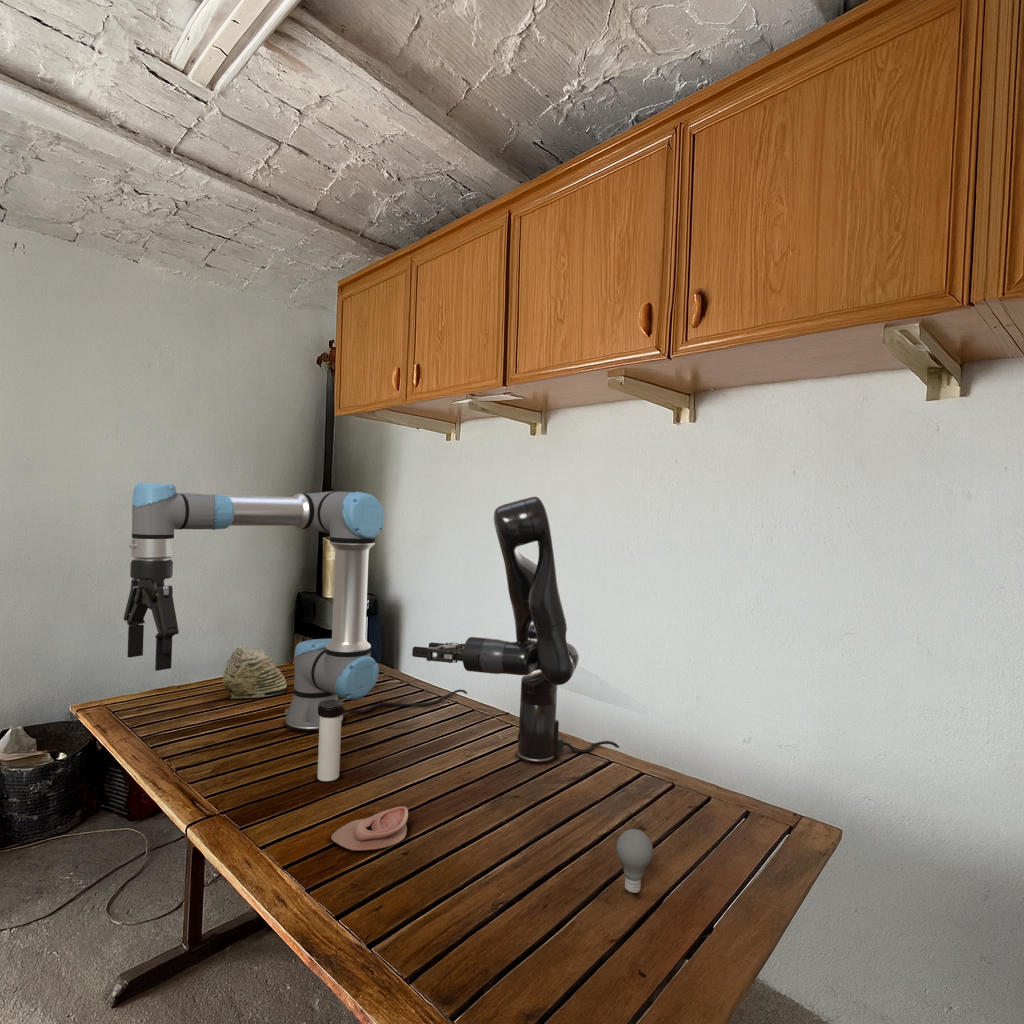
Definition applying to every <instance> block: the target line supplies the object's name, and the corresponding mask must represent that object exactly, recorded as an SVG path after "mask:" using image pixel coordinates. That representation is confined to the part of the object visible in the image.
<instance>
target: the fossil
mask: <svg viewBox="0 0 1024 1024" xmlns="http://www.w3.org/2000/svg"><path fill="white" fill-rule="evenodd" d="M222 676H223V677H222V685H223V687H224V688H225V690H226V691H228V693H229V698H230V699H250V698H264V697H271V696H275V695H281V694H284V693H285V691H286V689H287V687H288V686H287V680H286V678H285V676H284V674H283V673H282V672H281V669H279V668H278V667H277V665H276V663H275V662H274V660H273V659H272V658H271V657H270V656H269V655H268V654H267V653H266V652H265V650H264V649H263V648H260V647H258V648H251V647H247V646H246V647H245V646H238V647H237V648H236V649H235V650H233V651H232V653H231V656H230V657H229V659H228V660H227V663H226V666H225V668H224V671H223V675H222Z"/></svg>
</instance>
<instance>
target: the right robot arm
mask: <svg viewBox="0 0 1024 1024" xmlns="http://www.w3.org/2000/svg"><path fill="white" fill-rule="evenodd" d="M493 523H494V529H495V532H496V537H497V540H498V544H499V548H500V552H501V555H502V560H503V564H504V571H505V578H506V585H507V590H508V596H509V601H510V605H511V611H512V615H513V620H514V621H513V622H514V630H515V641H510V640H504V639H499V638H491V637H490V638H489V637H480V636H479V637H478V636H470V637H468V638H467V640H465V643H463V642H455V641H451V642H445V643H443V642H429V643H428V647H427V646H426V647H425V646H413V647H412V652H411V656H412V657H414V658H422V659H426V661H427V662H436V663H437V662H438V663H439V662H440V663H449V664H455V663H456V664H458V662H462V664H463V668H464V670H466V671H467V672H473V673H483V674H492V675H501V674H502V675H512V676H513V675H515V676H522V677H521V679H520V699H519V719H518V720H519V723H518V734H517V742H518V743H517V758H519V759H520V760H522V761H524V762H526V763H527V762H528V763H533V764H544V763H549V762H551V761H553V760H558V753H563V752H564V746H566V747H569V749H570V750H571V751H572V752H574V753H579V754H580V753H582V754H583V753H589V752H591V751H592V750H593V748H594V747H598V746H602V745H611V746H614V747H615V748H616V749H617V748H620V746H619V744H617V743H616V742H614V741H611V740H603V741H598V742H594V743H591V744H590V745H589V748H584V749H578V748H574V747H573V745H572V744H571V743H569V742H567V741H564V739H563V738H562V737H561V736H560V735H559V728H560V722H559V719H557V702H558V686H562V685H564V684H567V683H568V682H569V681H570V680H571V679H572V677H573V675H574V673H575V671H576V669H577V667H578V665H579V662H580V654H579V651H578V649H577V648H576V647H575V646H574V645H573V644H572V643H570V642H568V641H567V634H568V633H567V632H568V622H567V618H566V617H567V616H566V614H565V609H564V604H563V602H562V597H561V592H560V587H559V580H558V573H557V564H556V555H555V549H554V548H555V547H554V541H553V535H552V528H551V521H550V518H549V514H548V511H547V508H546V505H545V503H544V502H543V500H542V499H541V498H540V497H538V496H530V497H526V498H523V499H519V500H516V501H512V502H508V503H505V504H502V505H499V506H497V507H496V508H495V509H494V512H493ZM532 543H537V547H538V548H537V549H538V556H537V557H538V559H537V562H535V561H534V560H532V559H531V558H529V557H528V556H527V555H524V553H522V552H521V551H520V549H519V548H518V547H522V546H525V545H529V544H532ZM434 654H436V655H435V656H434Z"/></svg>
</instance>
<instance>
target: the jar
mask: <svg viewBox="0 0 1024 1024" xmlns="http://www.w3.org/2000/svg"><path fill="white" fill-rule="evenodd" d="M341 718H342V715H341V716H338V717H332V718H326V717H321V716H320V721H319V731H318V749H317V773H316V775H317V780H319V781H321V782H332V781H335V780H337V779H338V778H340V769H341V743H342V742H341V741H342V740H341V739H342V723H341Z"/></svg>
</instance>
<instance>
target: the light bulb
mask: <svg viewBox="0 0 1024 1024" xmlns="http://www.w3.org/2000/svg"><path fill="white" fill-rule="evenodd" d="M615 849H616V854H617V857H618V859H619V861H620V863H621V865H622V867H623V873H624V874H623V875H624V876H625V878H624V888H625V890H627V891H628V892H630V893H634V894H635V893H639V892H640V891H641V889H642V887H641V886H642V879H643V877H644V875H645V871H646V868H647V867H648V866H649V864H650V863H651V861H652V859H653V855H654V847H653V843H652V841H651V838H649V836H648V835H647V834H646V833H645V832H643V831H642V830H641V829H636V828H629V829H627V830H625V831H623V832H622V833H621V834H620V835H619V837H618V839H617V841H616V847H615Z"/></svg>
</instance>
